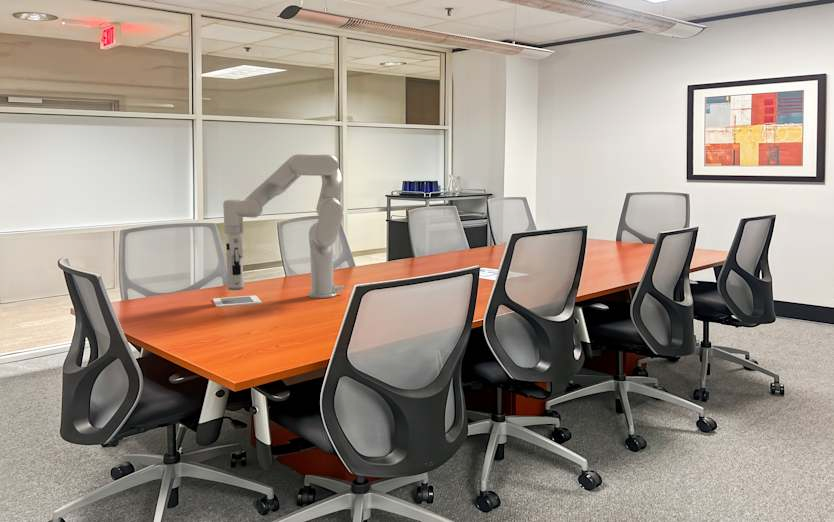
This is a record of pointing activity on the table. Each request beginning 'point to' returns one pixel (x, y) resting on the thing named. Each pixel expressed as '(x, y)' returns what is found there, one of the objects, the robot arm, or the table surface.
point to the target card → (236, 301)
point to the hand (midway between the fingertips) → (235, 273)
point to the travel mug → (233, 280)
